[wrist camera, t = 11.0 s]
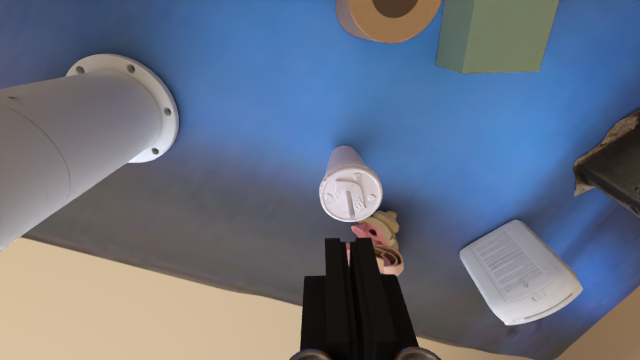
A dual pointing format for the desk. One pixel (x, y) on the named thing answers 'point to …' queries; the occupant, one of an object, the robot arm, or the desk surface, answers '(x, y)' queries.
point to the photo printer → (519, 274)
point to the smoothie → (349, 187)
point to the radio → (614, 165)
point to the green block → (494, 35)
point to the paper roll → (386, 18)
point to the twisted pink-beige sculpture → (381, 240)
